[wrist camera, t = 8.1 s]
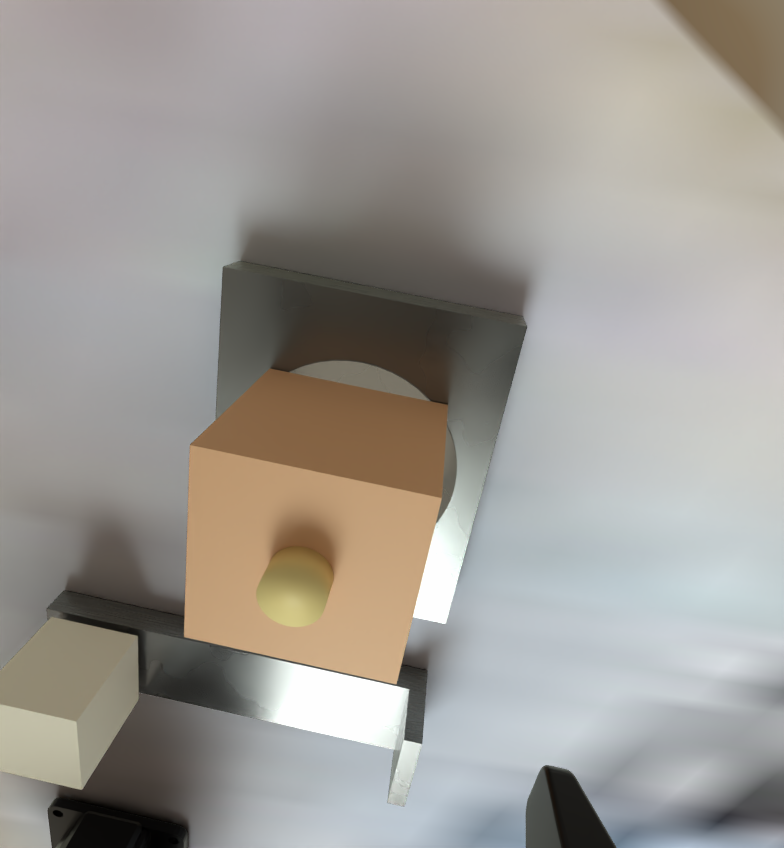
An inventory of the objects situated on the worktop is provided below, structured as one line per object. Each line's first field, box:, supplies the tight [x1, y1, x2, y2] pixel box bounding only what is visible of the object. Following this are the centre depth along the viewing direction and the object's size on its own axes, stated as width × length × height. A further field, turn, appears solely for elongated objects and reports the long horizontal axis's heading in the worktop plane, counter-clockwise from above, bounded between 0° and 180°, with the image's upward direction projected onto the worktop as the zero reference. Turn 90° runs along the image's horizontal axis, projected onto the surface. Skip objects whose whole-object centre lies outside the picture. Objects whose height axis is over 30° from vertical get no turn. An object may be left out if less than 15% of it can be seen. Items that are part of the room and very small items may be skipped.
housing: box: [184, 369, 448, 684], centre depth 14 cm, size 5×5×6 cm
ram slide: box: [0, 617, 139, 790], centre depth 19 cm, size 3×3×4 cm
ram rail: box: [47, 591, 427, 807], centre depth 20 cm, size 3×14×3 cm, turn 80°
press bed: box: [216, 261, 527, 624], centre depth 17 cm, size 10×8×1 cm
